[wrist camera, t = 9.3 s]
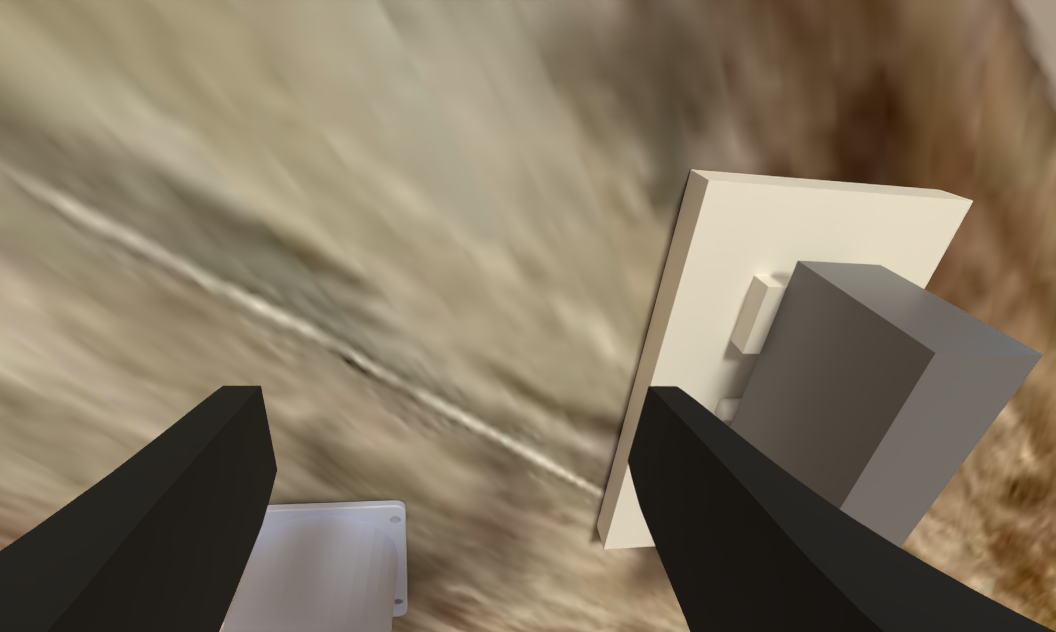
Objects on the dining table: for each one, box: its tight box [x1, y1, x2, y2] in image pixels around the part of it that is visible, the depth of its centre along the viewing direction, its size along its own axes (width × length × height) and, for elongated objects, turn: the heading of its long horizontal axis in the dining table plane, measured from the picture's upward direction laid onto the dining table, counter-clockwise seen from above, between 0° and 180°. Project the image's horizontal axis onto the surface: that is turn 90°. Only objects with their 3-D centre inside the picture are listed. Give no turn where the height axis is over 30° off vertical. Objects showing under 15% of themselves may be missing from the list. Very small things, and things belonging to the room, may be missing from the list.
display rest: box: [597, 170, 973, 549], centre depth 23 cm, size 20×11×2 cm, turn 174°
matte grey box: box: [730, 261, 1043, 548], centre depth 20 cm, size 15×4×6 cm, turn 174°
